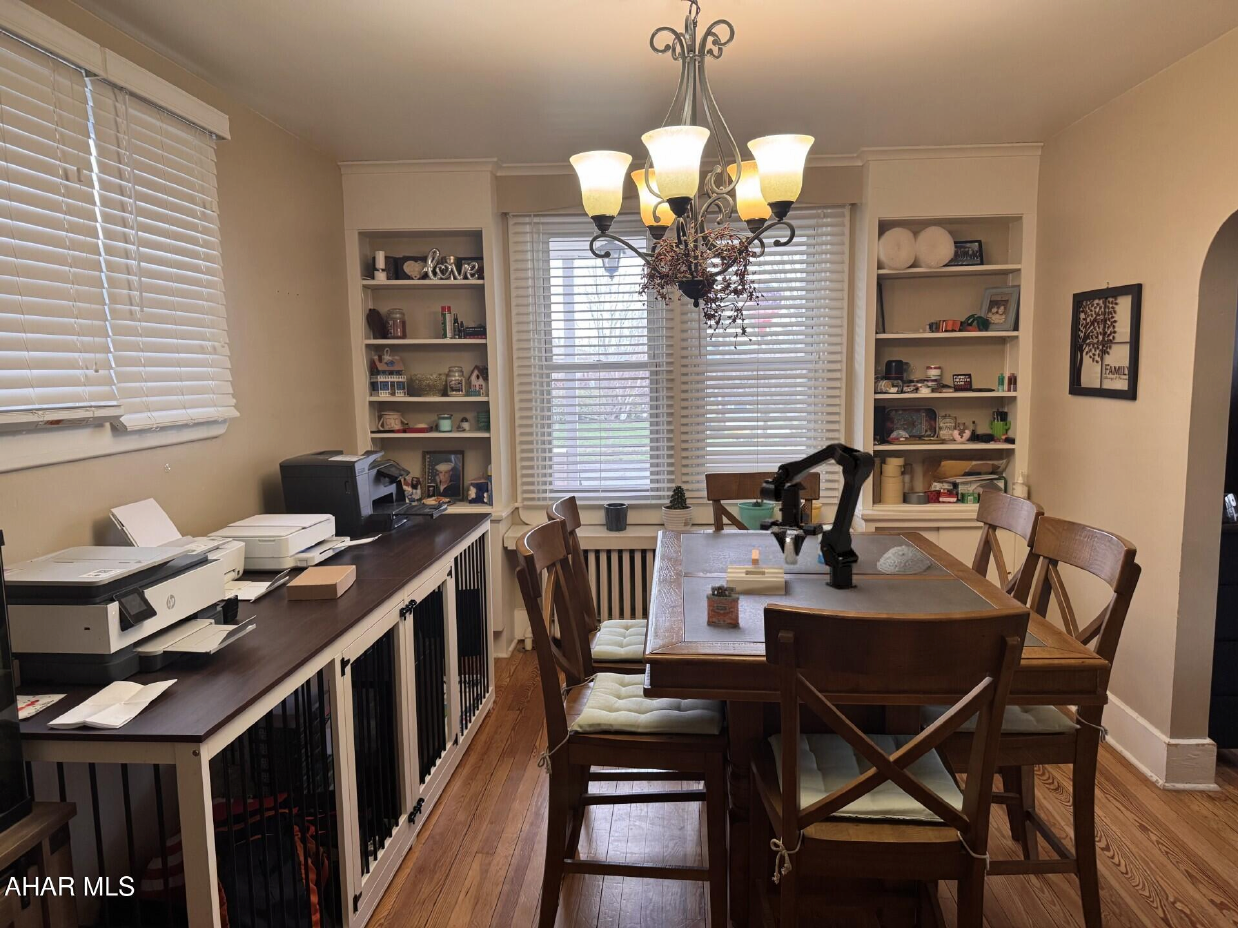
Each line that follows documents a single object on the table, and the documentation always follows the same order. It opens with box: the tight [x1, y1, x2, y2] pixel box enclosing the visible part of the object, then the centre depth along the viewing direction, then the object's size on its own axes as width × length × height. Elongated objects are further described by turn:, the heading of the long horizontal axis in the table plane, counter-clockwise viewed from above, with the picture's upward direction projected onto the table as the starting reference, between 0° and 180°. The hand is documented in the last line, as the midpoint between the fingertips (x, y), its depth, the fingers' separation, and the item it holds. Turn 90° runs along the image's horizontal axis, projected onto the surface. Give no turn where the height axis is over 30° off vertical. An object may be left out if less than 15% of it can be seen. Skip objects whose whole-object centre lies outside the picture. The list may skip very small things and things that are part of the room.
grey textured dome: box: [876, 545, 931, 575], centre depth 247 cm, size 16×25×7 cm, turn 152°
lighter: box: [705, 584, 741, 629], centre depth 191 cm, size 8×3×10 cm, turn 69°
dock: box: [725, 565, 786, 595], centre depth 226 cm, size 16×16×4 cm
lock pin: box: [751, 549, 760, 566], centre depth 240 cm, size 12×2×2 cm, turn 170°
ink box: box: [817, 524, 842, 565], centre depth 252 cm, size 9×5×12 cm, turn 113°
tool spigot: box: [783, 535, 799, 566], centre depth 239 cm, size 4×4×8 cm
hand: (791, 554), depth 239 cm, fingers closed on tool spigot, 4 cm apart
